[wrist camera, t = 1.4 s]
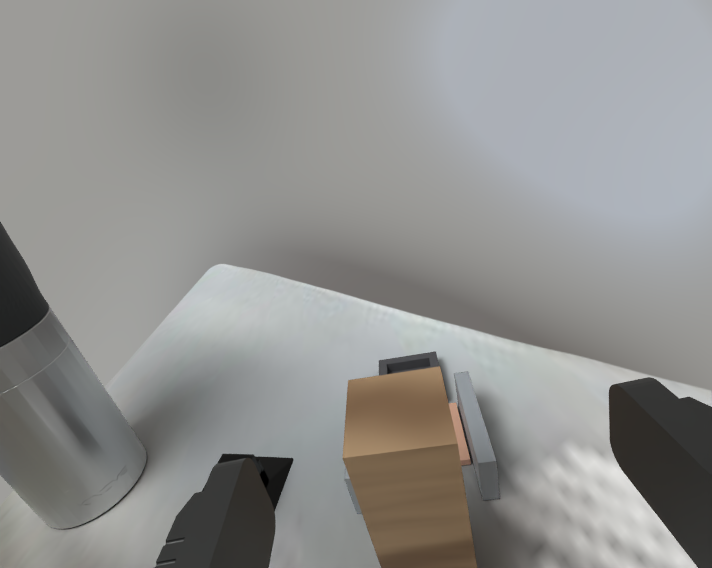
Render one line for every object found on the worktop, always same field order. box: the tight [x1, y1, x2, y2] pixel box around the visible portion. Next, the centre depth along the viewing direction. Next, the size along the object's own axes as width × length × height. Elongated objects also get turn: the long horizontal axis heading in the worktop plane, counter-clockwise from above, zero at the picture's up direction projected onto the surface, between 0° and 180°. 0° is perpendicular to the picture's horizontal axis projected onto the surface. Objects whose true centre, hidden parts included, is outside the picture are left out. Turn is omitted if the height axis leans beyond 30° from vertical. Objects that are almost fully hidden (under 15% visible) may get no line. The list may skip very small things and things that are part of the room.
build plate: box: [202, 454, 293, 511], centre depth 32 cm, size 12×7×5 cm, turn 168°
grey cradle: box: [345, 372, 500, 514], centre depth 33 cm, size 9×10×4 cm
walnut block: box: [343, 366, 477, 568], centre depth 23 cm, size 5×5×14 cm
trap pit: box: [379, 352, 439, 376], centre depth 40 cm, size 6×6×2 cm
